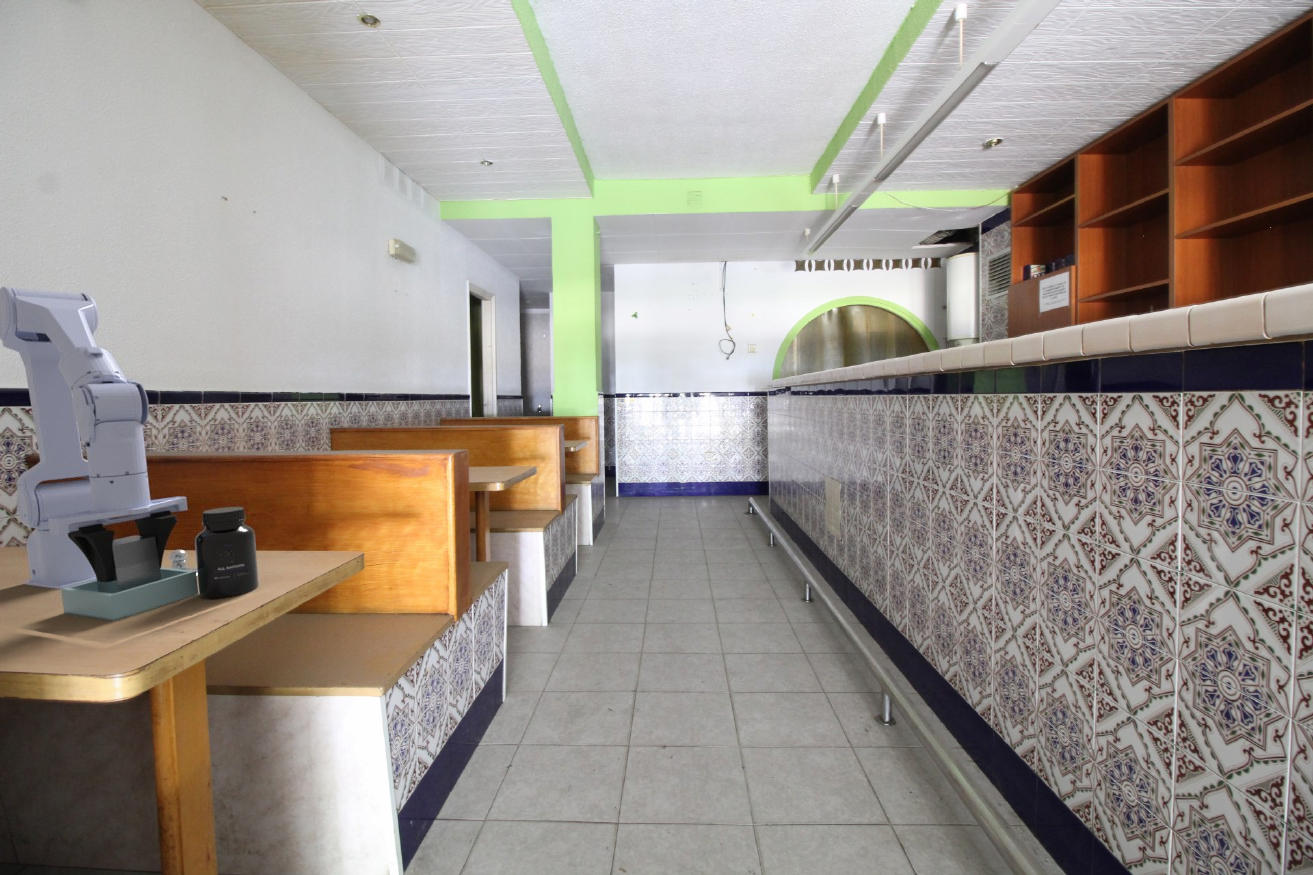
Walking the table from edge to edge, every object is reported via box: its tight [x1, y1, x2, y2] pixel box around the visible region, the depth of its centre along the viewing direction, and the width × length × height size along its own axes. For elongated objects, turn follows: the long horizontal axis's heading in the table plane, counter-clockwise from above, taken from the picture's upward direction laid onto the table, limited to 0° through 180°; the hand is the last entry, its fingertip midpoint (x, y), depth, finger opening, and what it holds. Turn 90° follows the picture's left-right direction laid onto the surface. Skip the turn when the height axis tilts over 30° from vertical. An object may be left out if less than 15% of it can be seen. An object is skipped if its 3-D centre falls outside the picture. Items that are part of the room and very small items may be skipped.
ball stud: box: [169, 549, 198, 576], centre depth 92 cm, size 6×6×4 cm
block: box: [96, 535, 161, 594], centre depth 80 cm, size 5×5×7 cm
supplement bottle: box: [194, 506, 259, 601], centre depth 83 cm, size 7×7×12 cm
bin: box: [60, 566, 199, 622], centre depth 80 cm, size 10×10×4 cm
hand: (130, 574), depth 80 cm, fingers closed on block, 5 cm apart
